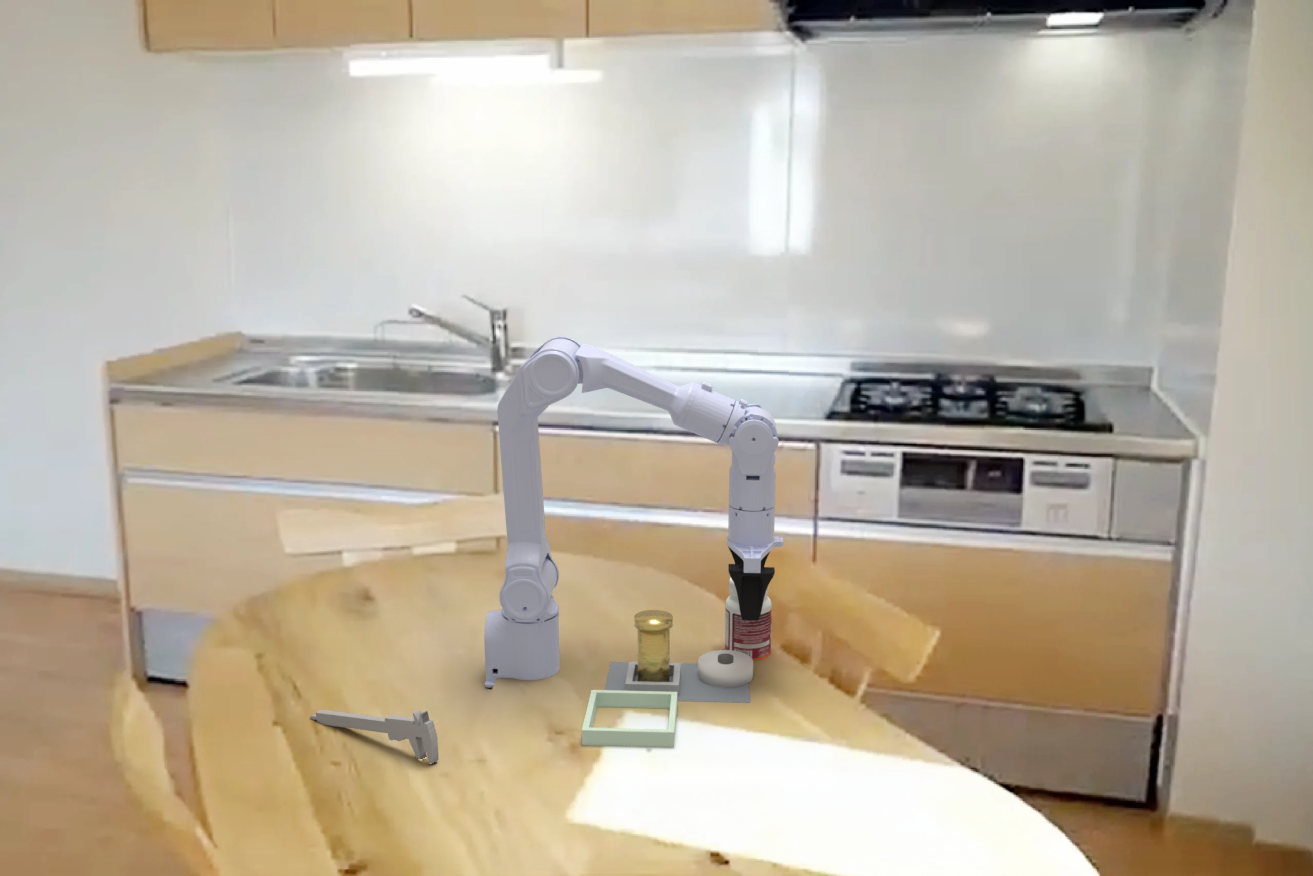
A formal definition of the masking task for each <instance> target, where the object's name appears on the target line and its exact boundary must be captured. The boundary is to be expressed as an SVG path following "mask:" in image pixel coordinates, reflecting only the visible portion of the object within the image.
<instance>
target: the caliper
mask: <svg viewBox="0 0 1313 876" xmlns="http://www.w3.org/2000/svg"><path fill="white" fill-rule="evenodd" d="M412 716H413V717H412ZM412 716H405V715H395V714H390V715H388V716H386V717H385V716H384V717H383V716H377V715H376V716H374V715H370V714H369V715H368V714H359V713H354V712H353V713H352V712H345V711H335V710H328V709H321V710H318V711H317V712H315V714H312V715H310V716H309V719H310V720H312V721H313V720H314V721H315V720H316V721H317V723H319V722H320V723H319V724H322V725H325V726H331V727H338V728H346V729H354V730H360V731H368V732H376V733H382V734H387V737H388V741H389V740H390V741H394V740H395V741H397V742H401V741H403V740H408V741H409V744H410V746H411V748H412V751H413V753H414V756H415V757H416V759H417V758H418V759H423V758H425V757H427V760H428V764H429V763H431V765H433V764H435V763H436V762H438V761H439V743H438V740H439V739H438V734H437V731H436V727H435V723H434V720H432V719H430V717H429V712H428V710H425V711H423V712H422V710H421V709H418V710H415V711H414V712H412ZM434 762H435V763H434ZM432 763H433V764H432Z"/></svg>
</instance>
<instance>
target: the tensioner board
mask: <svg viewBox="0 0 1313 876" xmlns="http://www.w3.org/2000/svg"><path fill="white" fill-rule="evenodd" d="M753 679H754V660H752V658H751V657H750V656H748V655H747V654H745V653H742V652H738V651H733V650H725V649H719V650H711V651H707V652H705V653H703V654H701V655H700V656H699V657H698V659H697V663H695V662H694V663H689V662H688V663H687V662H686V663H684V662H670V682H642V681H638V661H610V663H609V668H608V673H607V676H606V682H605V686H604V690H620V691H662V692H677V702H695V703H696V702H697V703H698V702H700V703H702V702H704V703H737V704H738V703H745V704H751V696H750V695H751V693H750V692H751V691H750V682H751V681H752V680H753Z"/></svg>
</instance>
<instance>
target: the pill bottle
mask: <svg viewBox="0 0 1313 876" xmlns="http://www.w3.org/2000/svg"><path fill="white" fill-rule="evenodd" d="M728 583H729V584H728V592H729V594H730V595H729V596H728V597H727V598H726V599H725V610H724V611H725V612H724V614H725V618H724V621H725V622H724V650H733V651H738V652H742V653H745V654H747V655H748V656H750V657H751V658H752V660H753V661H759V660H760V661H761V660H763V659H766V658H767V657H769V656H770V655H771V654H772V627H773V626H772V624H773V623H772V617H773V616H772V615H773V614H772V613H773V611H772V610H773V607H772V606H773V605H772V604H773V603H772V600H771V599H770V597H769V596H768V593H769V586H768V587H767V590H766V593H765V596H764V601H763V606H762V611H761V614H760V618H759V620H742V617H741V613H740V608H739V601H738V595H737V591H736V588H735V585H734V582H733V580H732V578H731V577H730V578H729V582H728Z"/></svg>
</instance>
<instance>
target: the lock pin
mask: <svg viewBox="0 0 1313 876" xmlns="http://www.w3.org/2000/svg"><path fill="white" fill-rule="evenodd" d="M633 625H634V627H635V629H636V630H637V662H638V681H642V682H670V663H671V662H670V659H671V658H670V657H671V656H670V654H671V653H670V651H671V650H670V649H671V648H670V647H671V646H670V644H671V643H670V641H671V640H670V639H671V636H670V635H671V634H670V633H671V632H670V631H671V629H672V628H673V627H674V616H673V614H672V613H670V612H668V611H665V610H661V609H647V610H643V611H639V612H637V613H636V614H634V617H633Z"/></svg>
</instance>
